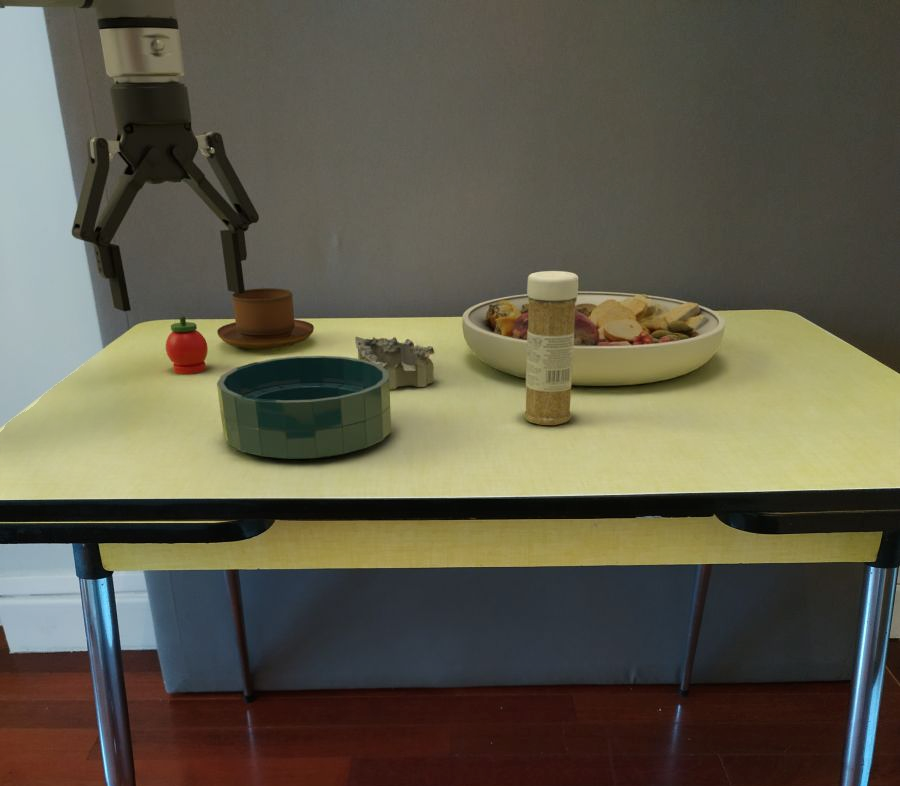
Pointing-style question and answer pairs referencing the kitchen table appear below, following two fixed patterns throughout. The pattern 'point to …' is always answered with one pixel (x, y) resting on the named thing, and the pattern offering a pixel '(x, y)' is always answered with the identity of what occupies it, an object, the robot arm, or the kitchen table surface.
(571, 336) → the spice jar
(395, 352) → the egg carton
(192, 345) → the tomato shaped ketchup bottle
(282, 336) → the cup and saucer
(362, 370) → the dessert bowl
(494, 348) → the bowl
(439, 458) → the kitchen table surface
